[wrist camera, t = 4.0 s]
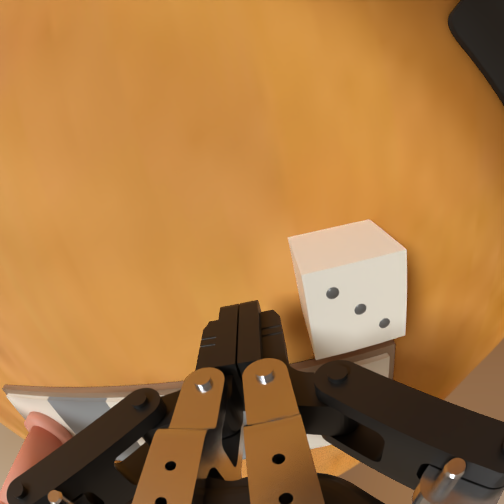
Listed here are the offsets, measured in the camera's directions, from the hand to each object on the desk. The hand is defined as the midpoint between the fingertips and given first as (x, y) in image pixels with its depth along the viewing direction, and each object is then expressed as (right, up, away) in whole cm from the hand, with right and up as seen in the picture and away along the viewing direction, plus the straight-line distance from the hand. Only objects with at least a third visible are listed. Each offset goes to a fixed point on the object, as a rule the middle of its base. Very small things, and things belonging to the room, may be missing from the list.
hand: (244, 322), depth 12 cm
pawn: (-17, -13, +7) cm, 22 cm away
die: (+4, +2, +3) cm, 5 cm away
